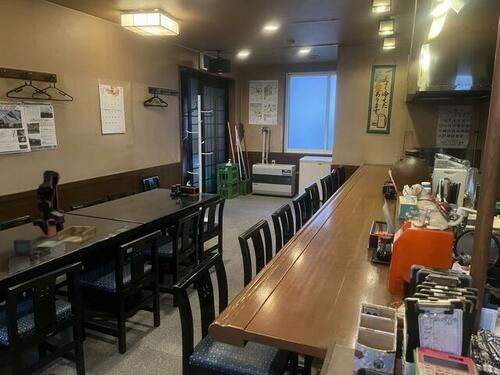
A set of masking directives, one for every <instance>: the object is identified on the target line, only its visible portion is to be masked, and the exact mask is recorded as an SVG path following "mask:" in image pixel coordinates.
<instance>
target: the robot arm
mask: <svg viewBox="0 0 500 375" xmlns="http://www.w3.org/2000/svg"><path fill="white" fill-rule="evenodd" d="M42 176H43V177H42V178H43V181H42V183H40V184H39V186H38V188H37V191H36V192H37V193H36V200H39V202H38V204H37V209H38V210H39V212H40V213H41V216H40V219H39V218H38V219H35V220H33V221H32V226H34V227H39V228H40V230H41V232H42V231H43V232H44V234H45V235H48V226H56V233H58V232H60V231H62V230H64V229H65V228H64V224H65V223H66V219H65V216H66V215H65V211H64V210H61V209H60V206H59V198H58V188H57V186H58V185H59V182H60V178H61V177H60V176H61V175H60V173H59V172H58V171H55V170H45V171H43V174H42Z"/></svg>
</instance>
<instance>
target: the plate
mask: <svg viewBox="0 0 500 375" xmlns="http://www.w3.org/2000/svg"><path fill="white" fill-rule="evenodd" d="M64 242H65V241H58V240H46V241H44V242H43V243H41V244H38V245H37V246H36V247H37V248H38V247H39V248H54V247H56V246H58V245H60V244H62V243H64Z"/></svg>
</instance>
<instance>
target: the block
mask: <svg viewBox="0 0 500 375" xmlns="http://www.w3.org/2000/svg"><path fill="white" fill-rule="evenodd" d="M41 233H42V237H47V238H48V237H51V238H52V237H54V236H55V235H56V236H57V232H56V226H48V235H45V234H44V232H43V231H42V230H41Z"/></svg>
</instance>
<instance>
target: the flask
mask: <svg viewBox="0 0 500 375" xmlns="http://www.w3.org/2000/svg"><path fill="white" fill-rule="evenodd" d="M13 246H14V247H13V249H14V257H31V256H34V248H33V247H34V246H33V239H32V238H25V236H24V235H23V236H20V238H15V239H13Z"/></svg>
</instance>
